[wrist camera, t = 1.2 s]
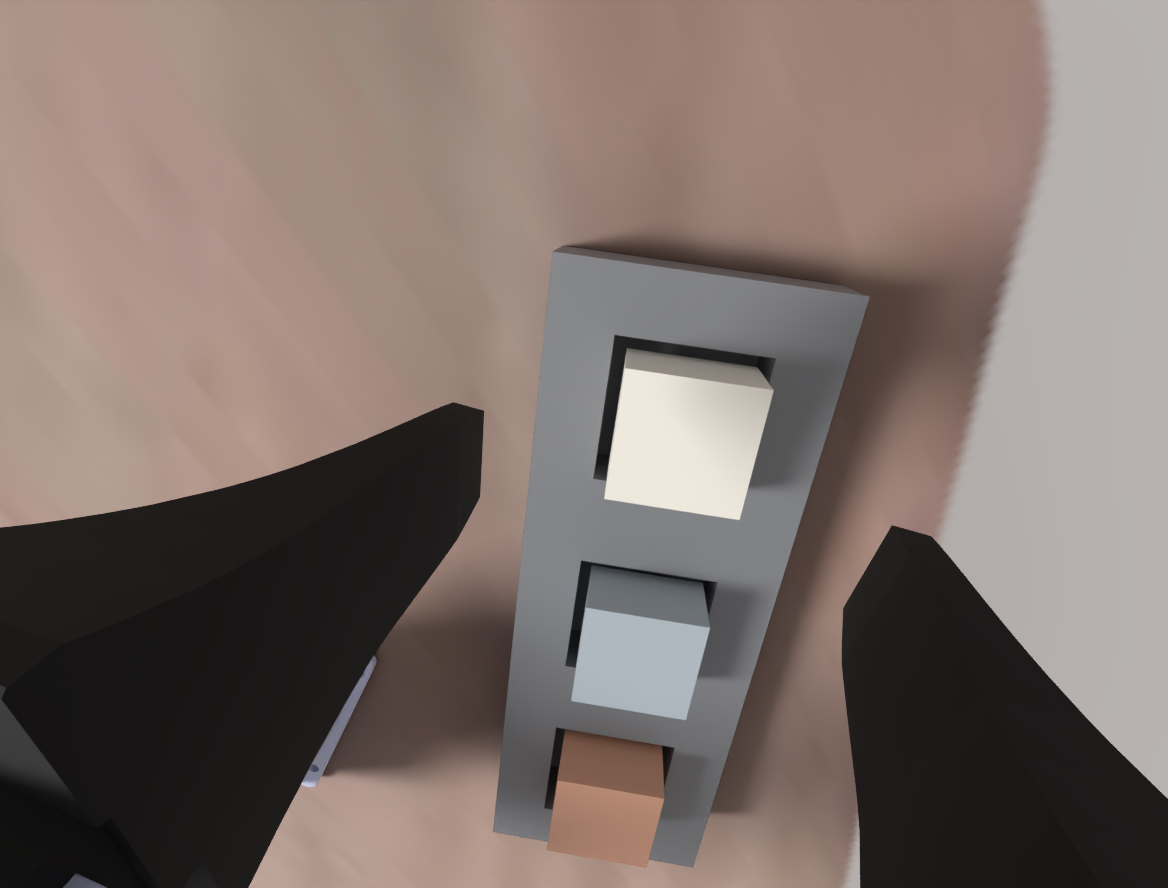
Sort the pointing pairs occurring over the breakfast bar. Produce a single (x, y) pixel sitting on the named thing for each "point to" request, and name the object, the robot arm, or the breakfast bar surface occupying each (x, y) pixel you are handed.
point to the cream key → (686, 433)
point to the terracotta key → (607, 798)
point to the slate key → (641, 642)
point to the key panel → (659, 512)
